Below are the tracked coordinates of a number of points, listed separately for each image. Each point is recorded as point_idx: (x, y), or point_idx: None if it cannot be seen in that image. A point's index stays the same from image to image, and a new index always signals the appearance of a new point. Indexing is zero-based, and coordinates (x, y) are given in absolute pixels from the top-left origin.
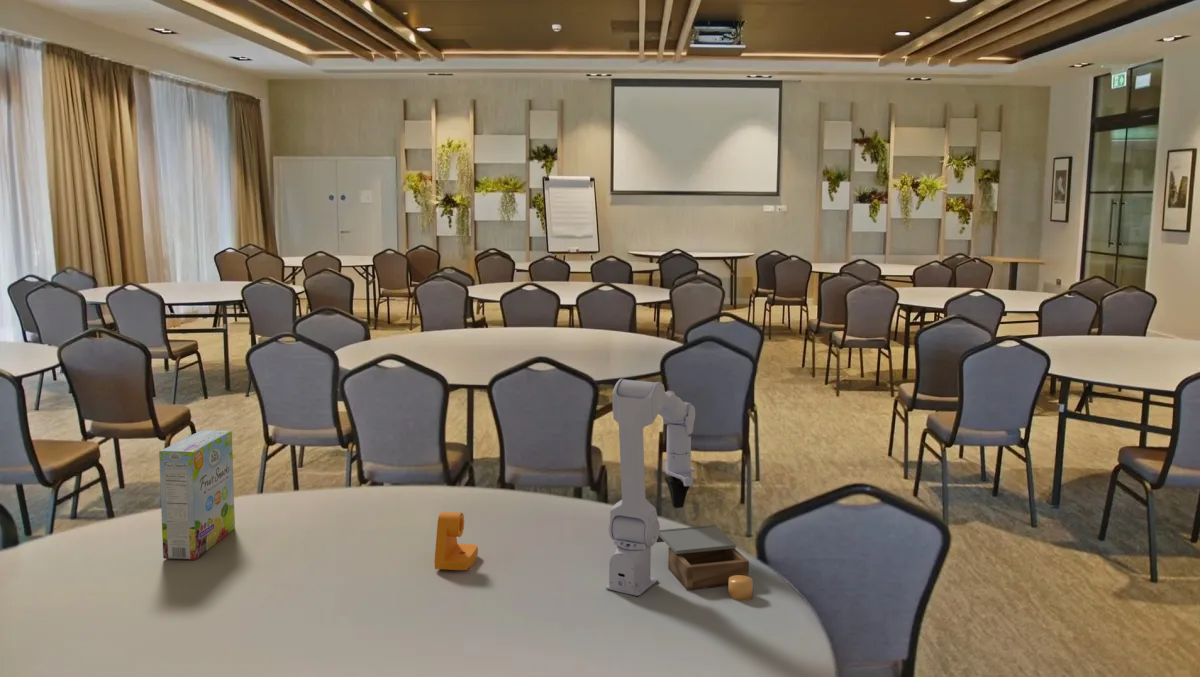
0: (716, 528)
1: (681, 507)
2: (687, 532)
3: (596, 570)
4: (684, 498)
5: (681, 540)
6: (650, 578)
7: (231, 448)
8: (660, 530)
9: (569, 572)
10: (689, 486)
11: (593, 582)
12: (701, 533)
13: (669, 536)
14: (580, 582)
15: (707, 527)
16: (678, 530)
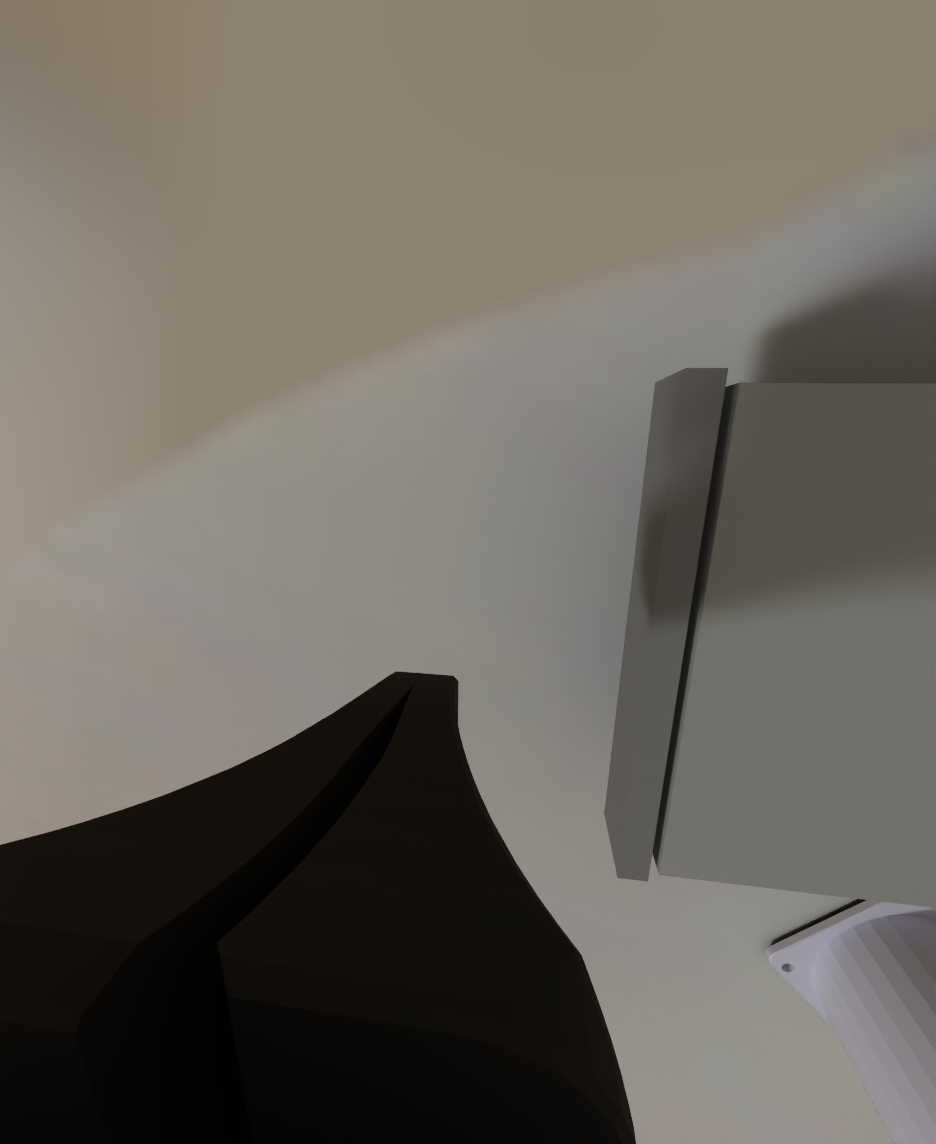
0: (792, 391)
1: (457, 692)
2: (767, 695)
3: (661, 1017)
4: (459, 735)
5: (923, 811)
6: (910, 906)
7: None
8: (631, 851)
9: (638, 1093)
10: (539, 901)
11: (781, 1068)
12: (851, 593)
13: (787, 849)
14: (756, 1100)
15: (726, 473)
16: (688, 740)
